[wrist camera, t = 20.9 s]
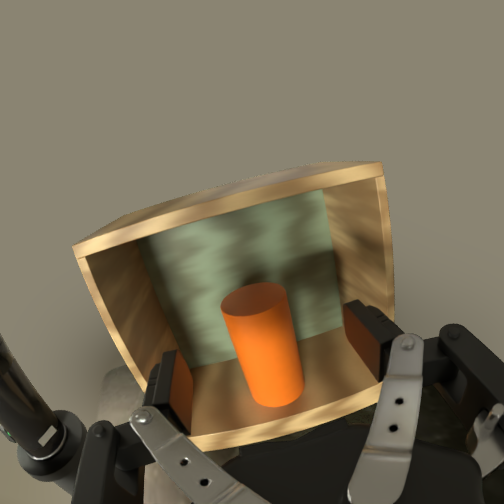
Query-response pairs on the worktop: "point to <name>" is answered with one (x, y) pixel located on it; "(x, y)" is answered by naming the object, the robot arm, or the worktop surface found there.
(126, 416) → the worktop surface
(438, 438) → the worktop surface
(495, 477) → the worktop surface
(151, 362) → the shelf unit
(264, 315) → the can
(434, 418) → the worktop surface
